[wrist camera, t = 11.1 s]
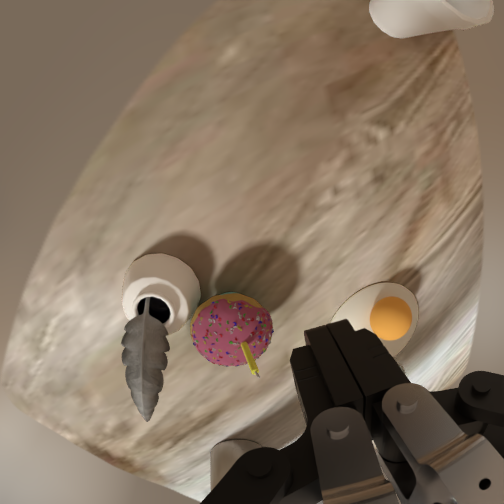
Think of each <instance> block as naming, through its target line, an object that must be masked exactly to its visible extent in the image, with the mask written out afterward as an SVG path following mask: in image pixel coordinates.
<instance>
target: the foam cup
mask: <svg viewBox="0 0 504 504" xmlns="http://www.w3.org/2000/svg"><path fill="white" fill-rule="evenodd" d="M369 12H370V15H371V17H372V19H373V21H374V23H375V24H376V25H377V26H378V27H379V28H380V29H381V30H382V31H383V32H385V33H386V34H388V35H390V36H392V37H396V38H408V37H413V36H418V35H423V34H429V33H435V32H441V31H447V30H454V29H461V30H466V29H469V28H473V27H476V26H479V25H482V24H485V23H489V22H490V21H491V18H492V16H493V13H494V6H493V0H371V1H370V3H369Z"/></svg>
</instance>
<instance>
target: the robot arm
mask: <svg viewBox="0 0 504 504" xmlns="http://www.w3.org/2000/svg"><path fill="white" fill-rule="evenodd" d="M304 336H305V342H306V346H303V347H299V348H295V349H293V351H292V355H291V358H290V363H291V368H292V372H293V377H294V382H295V386H296V391H297V394H298V398H299V401H300V405H301V408H302V411H303V415H304V418H305V422H306V425H307V427H306V430H305V432H304V433H303V435H302V436H301V437H300V438H299V439H298V440H297V441H295V442H294V443H292V444H290V445H289V446H287V447H285V448H283V449H281V450H277V449H274V448H269V447H261V446H260V445H259V444H257V443H255V442H252V441H248V440H229V441H225V442H222V443H219V444H217V445H216V446H214V447H213V448H212V450H211V471H210V476H211V492H210V493H209V494H208V495H207V496H206V498H205V499H204V500H203V501H202V502H201V503H200V504H317V503H318V502H320V501H321V500H323V504H399V502H398V499H397V496H398V498H399V499H400V501H401V504H504V375H499V374H495V373H491V372H486V371H475V372H472V373H469V374H468V375H466V376H465V377H464V378H463V379H462V380H461V382H460V384H459V387H458V388H454V389H448V390H443V391H436V392H430V391H428V390H427V389H426V388H424V387H423V386H421V385H418V384H414V383H411V382H410V381H409V379H408V378H407V377H406V375H405V374H404V372H403V371H402V370H401V368H400V367H399V365H398V364H397V362H396V361H395V360H394V358H393V357H392V356H391V354H389V351H388V350H387V349H386V347H385V346H383V343H382V342H381V340H380V339H379V338H378V336H377V335H376V334H375V333H373V332H371V331H369V330H367V329H366V328H363V329H360V330H357V331H355V330H354V328H353V327H352V325H351V324H350V322H349V321H348V319H343V320H340V321H336V322H333V323H330V324H326V326H325V325H323V326H319V327H316V328H312V329H309V330H305V331H304ZM372 440H374V443H375V445H376V447H377V455H376V452H375V449H374V446H373V443H372ZM380 466H381V467H382V469H383V471H384V473H385V474H386V476H387V478H388V480H389V481H388V480H386V479H385V478H384V475H383V473H382V470H381V467H380ZM395 492H396V493H395ZM396 494H397V496H396Z"/></svg>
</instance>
